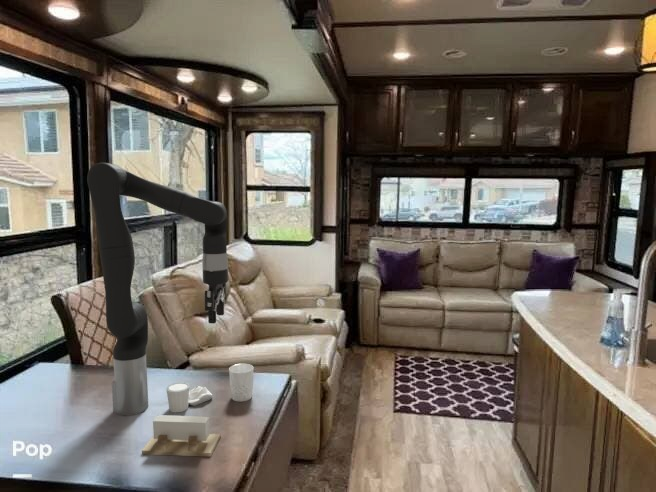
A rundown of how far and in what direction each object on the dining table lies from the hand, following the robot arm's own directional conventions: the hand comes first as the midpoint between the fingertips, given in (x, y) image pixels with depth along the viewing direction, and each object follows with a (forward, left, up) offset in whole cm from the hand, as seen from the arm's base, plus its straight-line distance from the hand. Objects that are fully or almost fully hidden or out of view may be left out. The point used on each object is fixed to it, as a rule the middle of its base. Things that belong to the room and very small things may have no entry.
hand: (216, 319), depth 140 cm
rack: (-3, -23, -28) cm, 36 cm away
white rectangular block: (-3, -23, -26) cm, 35 cm away
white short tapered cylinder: (-12, -3, -28) cm, 31 cm away
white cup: (+6, +6, -28) cm, 30 cm away
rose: (-8, +4, -29) cm, 30 cm away
